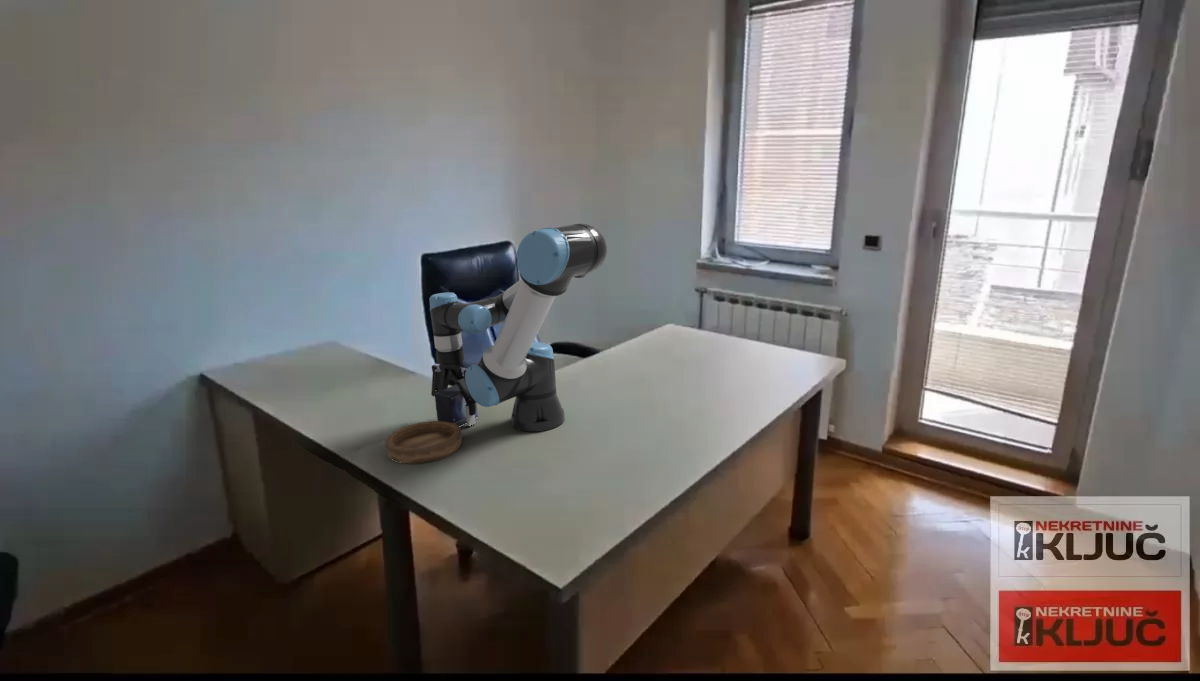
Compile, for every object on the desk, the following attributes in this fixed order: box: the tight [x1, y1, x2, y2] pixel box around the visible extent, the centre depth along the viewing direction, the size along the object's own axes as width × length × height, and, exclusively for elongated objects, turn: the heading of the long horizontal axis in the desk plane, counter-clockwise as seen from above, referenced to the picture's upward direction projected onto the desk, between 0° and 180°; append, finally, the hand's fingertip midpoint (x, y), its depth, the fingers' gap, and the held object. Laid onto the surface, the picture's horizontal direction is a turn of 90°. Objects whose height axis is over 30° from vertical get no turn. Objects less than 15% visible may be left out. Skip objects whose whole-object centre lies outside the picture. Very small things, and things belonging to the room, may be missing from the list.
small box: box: [434, 384, 479, 426], centre depth 178 cm, size 11×6×10 cm, turn 148°
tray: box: [384, 420, 463, 465], centre depth 163 cm, size 19×19×4 cm
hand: (458, 422), depth 179 cm, fingers open, 9 cm apart
